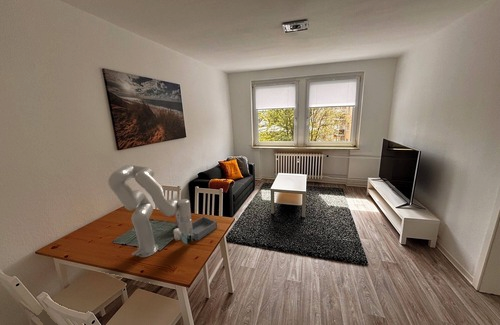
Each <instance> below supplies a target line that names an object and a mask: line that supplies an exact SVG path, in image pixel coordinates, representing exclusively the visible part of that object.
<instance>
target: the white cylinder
mask: <svg viewBox="0 0 500 325" xmlns="http://www.w3.org/2000/svg"><path fill="white" fill-rule="evenodd" d="M181 235H182V234H181V232H180V231H179V227H177V228H175V229H173V236H174V241H181V240H182V237H181Z"/></svg>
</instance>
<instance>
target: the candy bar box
mask: <svg viewBox="0 0 500 325" xmlns="http://www.w3.org/2000/svg"><path fill="white" fill-rule="evenodd" d="M174 215H175V222H176V223H175V224H176V227H177V228H179V211H178V210H177V211H176V213H175V214H174Z"/></svg>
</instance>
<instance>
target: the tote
mask: <svg viewBox="0 0 500 325" xmlns="http://www.w3.org/2000/svg"><path fill="white" fill-rule="evenodd" d="M217 224H218V222H217V221H216V220H214V219H211V218H209V217H207V216H202V217H199V218H198V219H196V220H195V221H193V222H192V227H193V234H194V235H193V236H192V240H194V241H196V242H199V241H200V240H202V239H203V238H205V237H206V236H208V235H209V234H211V233H213V232H214V231H215V230H217V229H218V225H217ZM189 233H190V232H189Z"/></svg>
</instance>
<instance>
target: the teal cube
mask: <svg viewBox="0 0 500 325" xmlns="http://www.w3.org/2000/svg"><path fill="white" fill-rule="evenodd" d="M189 236H190V234H189ZM181 237H182V238H181V242H182V243H183V244H185V245H188V244H189V243H187V238H188V237H187V235H185V234H183V235H182V234H181Z"/></svg>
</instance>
